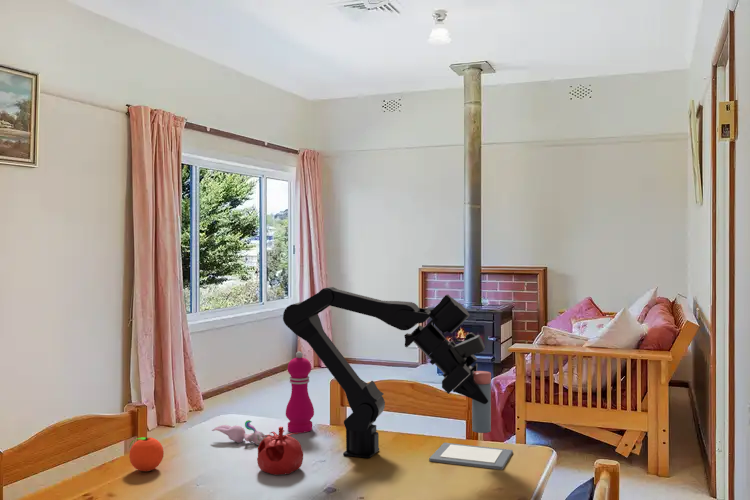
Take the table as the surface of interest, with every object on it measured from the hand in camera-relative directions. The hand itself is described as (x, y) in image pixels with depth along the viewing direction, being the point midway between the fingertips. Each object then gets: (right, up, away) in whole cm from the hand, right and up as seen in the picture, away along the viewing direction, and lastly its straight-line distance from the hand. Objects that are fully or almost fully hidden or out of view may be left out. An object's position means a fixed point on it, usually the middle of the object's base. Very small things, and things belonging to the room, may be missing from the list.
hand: (487, 400), depth 147 cm
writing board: (-3, -13, +4) cm, 14 cm away
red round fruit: (-44, -14, -3) cm, 47 cm away
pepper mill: (-43, -13, +26) cm, 53 cm away
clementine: (-73, -14, -3) cm, 75 cm away
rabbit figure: (-56, -14, +16) cm, 60 cm away
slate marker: (-1, -7, 0) cm, 7 cm away
